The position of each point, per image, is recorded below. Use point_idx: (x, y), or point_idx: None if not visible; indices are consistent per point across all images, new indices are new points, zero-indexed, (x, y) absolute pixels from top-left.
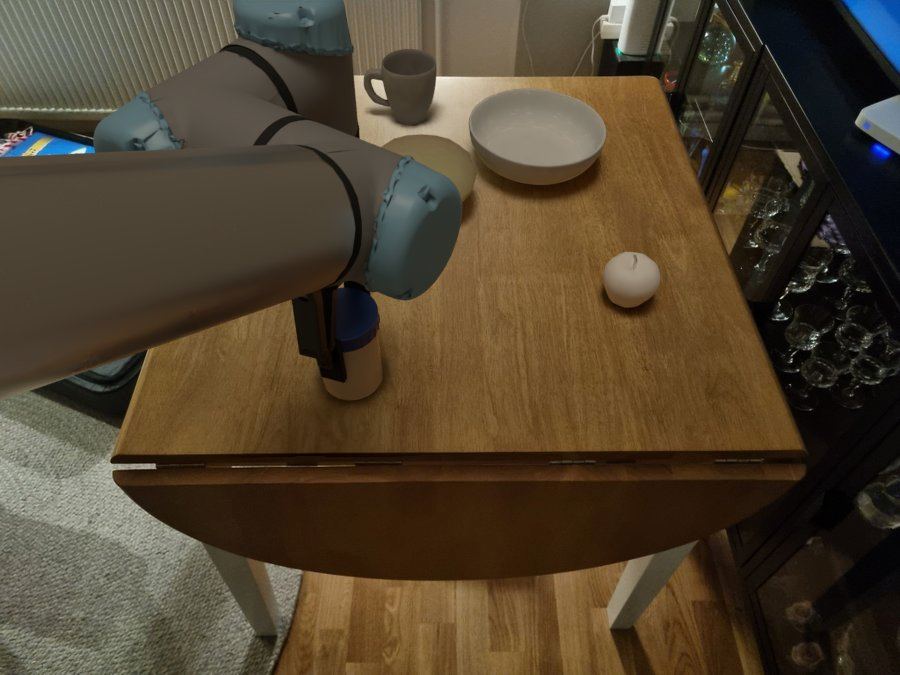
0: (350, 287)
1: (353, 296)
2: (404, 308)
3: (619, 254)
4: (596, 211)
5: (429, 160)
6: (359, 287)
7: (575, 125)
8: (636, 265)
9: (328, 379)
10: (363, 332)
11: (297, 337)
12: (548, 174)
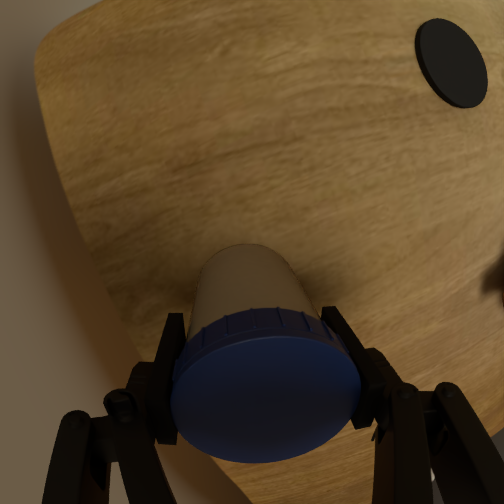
0: (361, 391)
1: (331, 411)
2: (392, 309)
3: (433, 475)
4: (493, 403)
5: None
6: (359, 413)
7: None
8: None
9: (194, 296)
10: (225, 458)
11: (51, 464)
12: None
